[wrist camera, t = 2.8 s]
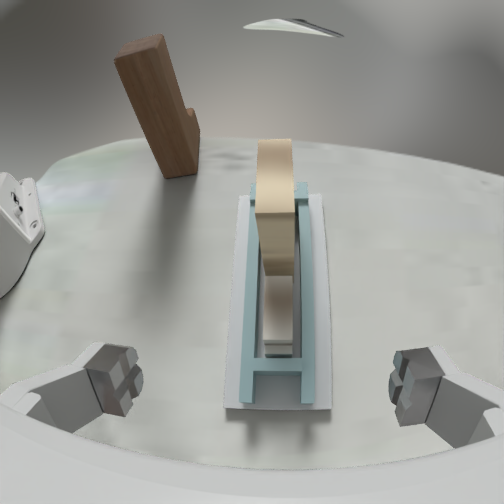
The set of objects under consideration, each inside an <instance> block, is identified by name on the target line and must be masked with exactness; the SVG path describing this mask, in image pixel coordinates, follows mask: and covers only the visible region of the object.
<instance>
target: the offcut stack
mask: <svg viewBox="0 0 504 504" xmlns="http://www.w3.org/2000/svg"><path fill="white" fill-rule="evenodd" d="M292 341H293V278H292V276H265V287H264V318H263V342H264V345H265V348H264V354H265V357H266V358H292Z"/></svg>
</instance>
